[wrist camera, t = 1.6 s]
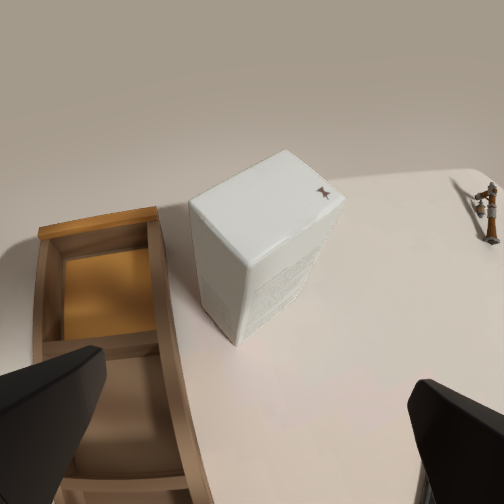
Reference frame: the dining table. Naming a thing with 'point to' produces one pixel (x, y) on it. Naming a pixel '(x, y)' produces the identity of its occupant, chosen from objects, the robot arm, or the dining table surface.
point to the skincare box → (260, 240)
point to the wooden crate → (120, 359)
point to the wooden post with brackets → (489, 212)
